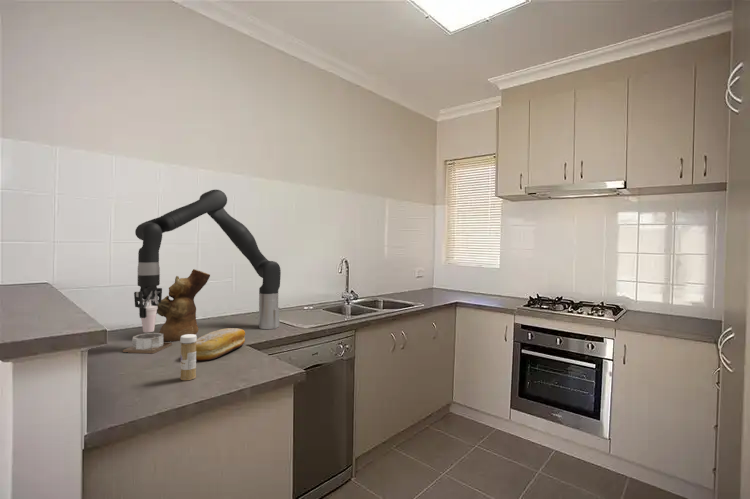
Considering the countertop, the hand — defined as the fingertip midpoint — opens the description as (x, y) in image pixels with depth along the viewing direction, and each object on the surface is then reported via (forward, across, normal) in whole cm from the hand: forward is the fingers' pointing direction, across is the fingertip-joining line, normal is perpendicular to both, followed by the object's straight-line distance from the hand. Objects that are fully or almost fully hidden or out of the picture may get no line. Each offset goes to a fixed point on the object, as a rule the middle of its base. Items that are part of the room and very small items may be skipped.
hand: (148, 315), depth 153 cm
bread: (+13, -1, -29) cm, 32 cm away
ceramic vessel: (+13, +20, -3) cm, 24 cm away
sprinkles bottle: (+13, -31, -33) cm, 47 cm away
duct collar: (+13, 0, 0) cm, 13 cm away
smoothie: (+6, 0, 0) cm, 6 cm away
